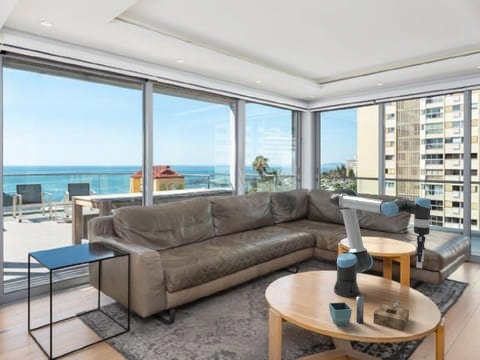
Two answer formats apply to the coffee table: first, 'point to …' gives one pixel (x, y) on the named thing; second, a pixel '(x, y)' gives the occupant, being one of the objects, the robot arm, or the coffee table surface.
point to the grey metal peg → (360, 309)
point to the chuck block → (391, 316)
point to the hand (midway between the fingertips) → (420, 264)
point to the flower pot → (340, 313)
